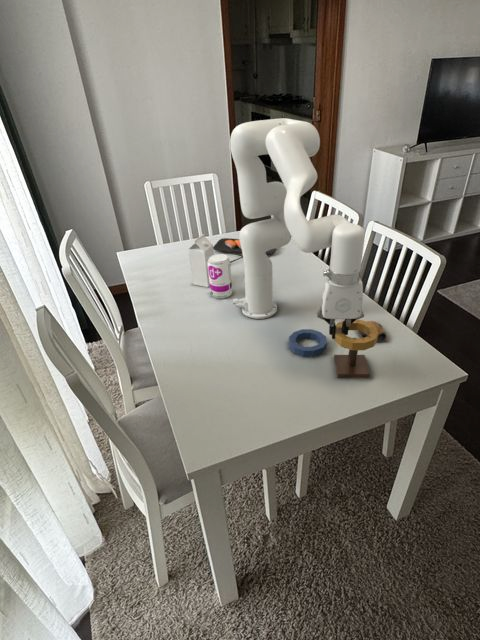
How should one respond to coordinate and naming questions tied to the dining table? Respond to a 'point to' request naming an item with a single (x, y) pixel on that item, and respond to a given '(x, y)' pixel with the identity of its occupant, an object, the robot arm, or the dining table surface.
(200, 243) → the milk carton
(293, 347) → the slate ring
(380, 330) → the bun on tray
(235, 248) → the sushi plate
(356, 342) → the brass ring
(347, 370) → the stand
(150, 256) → the dining table surface
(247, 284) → the robot arm
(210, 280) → the supplement can
